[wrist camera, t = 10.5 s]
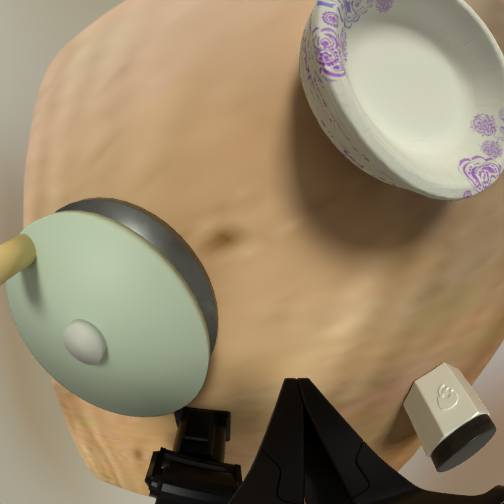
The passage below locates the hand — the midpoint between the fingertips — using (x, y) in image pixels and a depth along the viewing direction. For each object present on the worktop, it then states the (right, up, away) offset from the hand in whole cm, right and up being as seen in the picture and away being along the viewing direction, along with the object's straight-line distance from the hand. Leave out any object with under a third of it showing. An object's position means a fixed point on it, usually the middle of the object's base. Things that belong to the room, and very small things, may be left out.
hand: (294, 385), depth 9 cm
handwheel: (-14, -2, +10) cm, 18 cm away
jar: (+22, -13, +19) cm, 31 cm away
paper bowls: (+9, +17, +8) cm, 21 cm away
